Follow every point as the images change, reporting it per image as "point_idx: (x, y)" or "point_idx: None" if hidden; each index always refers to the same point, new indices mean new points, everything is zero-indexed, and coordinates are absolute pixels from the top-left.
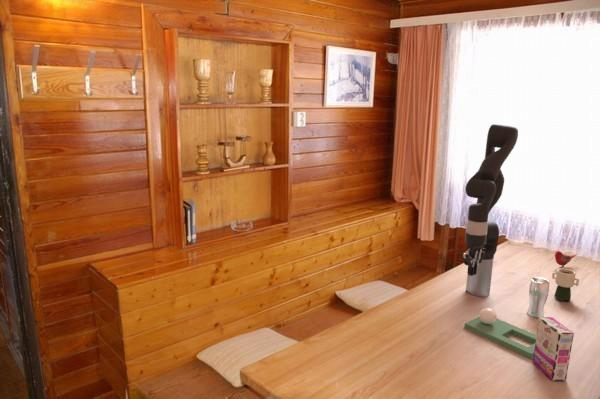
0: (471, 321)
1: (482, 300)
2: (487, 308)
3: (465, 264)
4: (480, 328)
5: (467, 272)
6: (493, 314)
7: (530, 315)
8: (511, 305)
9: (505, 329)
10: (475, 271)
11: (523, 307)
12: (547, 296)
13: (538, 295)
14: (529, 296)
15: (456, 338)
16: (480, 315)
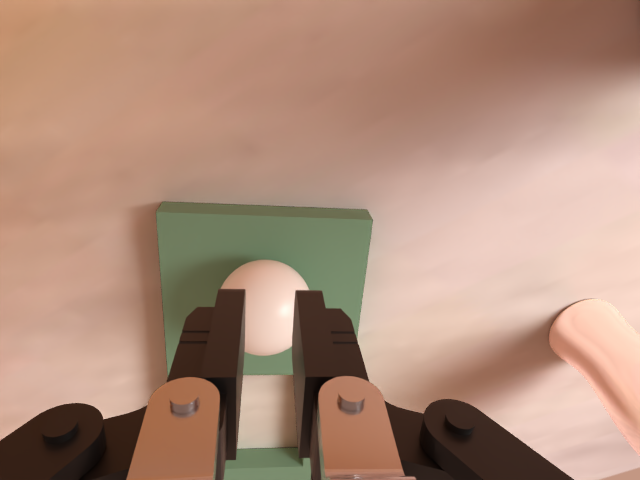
0: (211, 223)
1: (597, 70)
2: (266, 325)
3: (38, 439)
4: (182, 292)
5: (187, 318)
6: (257, 354)
7: (554, 325)
8: (625, 215)
9: (282, 360)
10: (294, 381)
11: (635, 262)
12: None
13: (625, 434)
14: (635, 366)
15: (26, 238)
16: (223, 287)
